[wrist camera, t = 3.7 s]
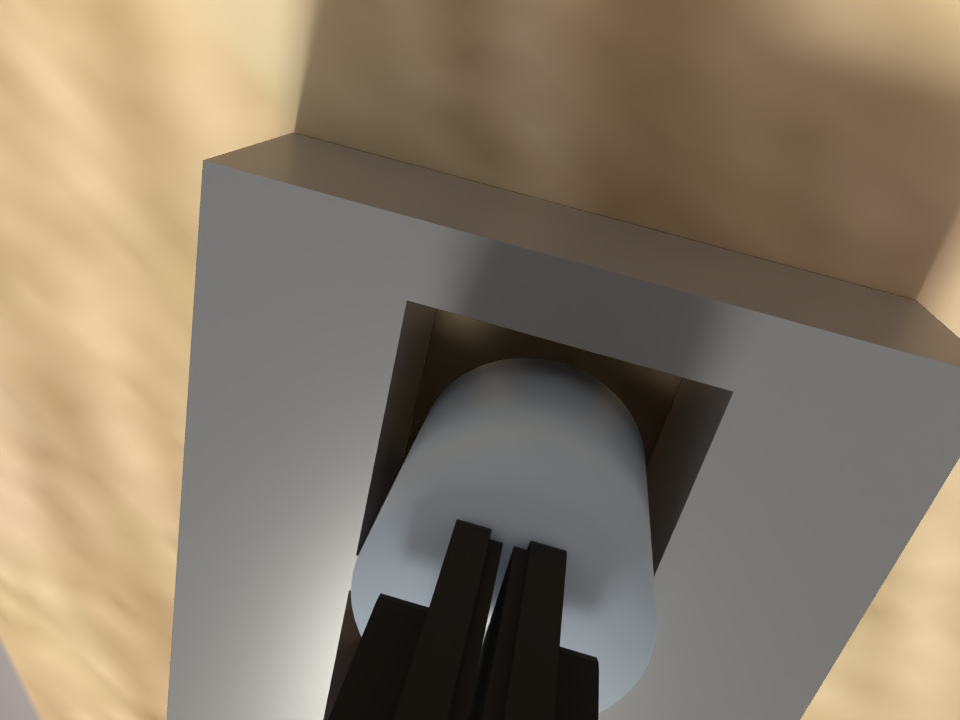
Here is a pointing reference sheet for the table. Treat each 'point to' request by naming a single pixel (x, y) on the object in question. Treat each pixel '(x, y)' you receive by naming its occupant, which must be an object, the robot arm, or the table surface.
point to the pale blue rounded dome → (528, 505)
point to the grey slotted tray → (560, 318)
